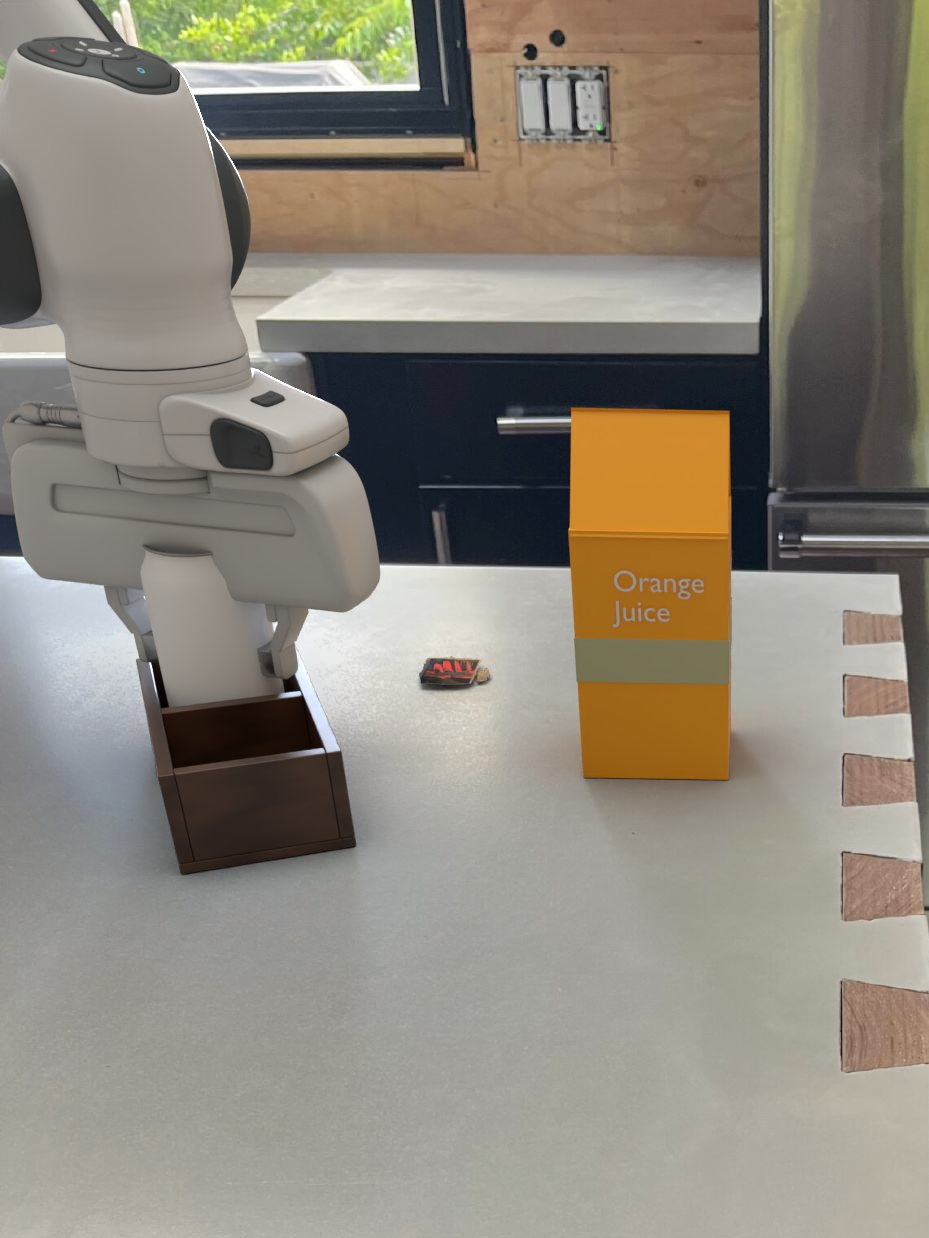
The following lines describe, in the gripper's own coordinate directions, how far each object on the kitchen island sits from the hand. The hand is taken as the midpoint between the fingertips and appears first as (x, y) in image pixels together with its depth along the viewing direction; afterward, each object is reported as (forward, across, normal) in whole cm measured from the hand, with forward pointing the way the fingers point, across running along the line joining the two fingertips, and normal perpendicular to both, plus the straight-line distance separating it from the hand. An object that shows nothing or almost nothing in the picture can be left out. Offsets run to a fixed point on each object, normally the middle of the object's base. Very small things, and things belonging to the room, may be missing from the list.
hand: (220, 667), depth 86 cm
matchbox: (+6, +7, +17) cm, 19 cm away
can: (+5, 0, 0) cm, 5 cm away
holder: (+6, +3, -3) cm, 7 cm away
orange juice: (+6, +24, +9) cm, 26 cm away
